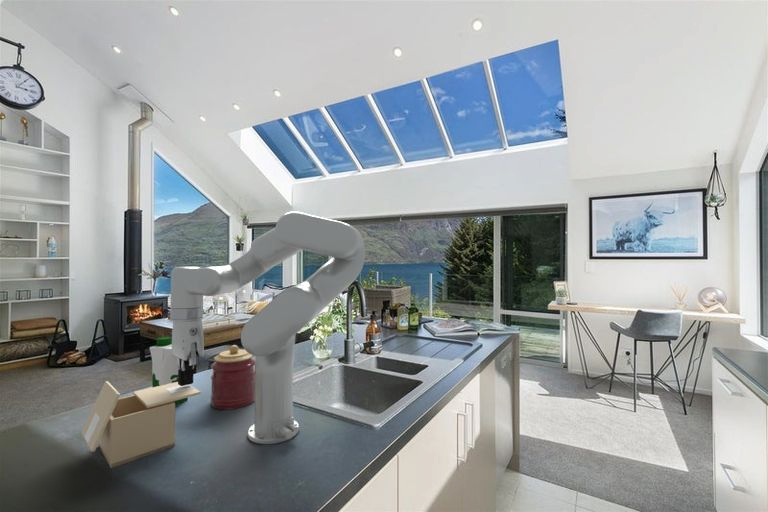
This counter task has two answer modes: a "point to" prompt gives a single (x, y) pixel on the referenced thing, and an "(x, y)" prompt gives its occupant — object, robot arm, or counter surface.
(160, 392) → the panel
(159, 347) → the milk carton
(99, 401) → the outer flap
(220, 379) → the canister
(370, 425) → the counter surface
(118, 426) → the parcel
